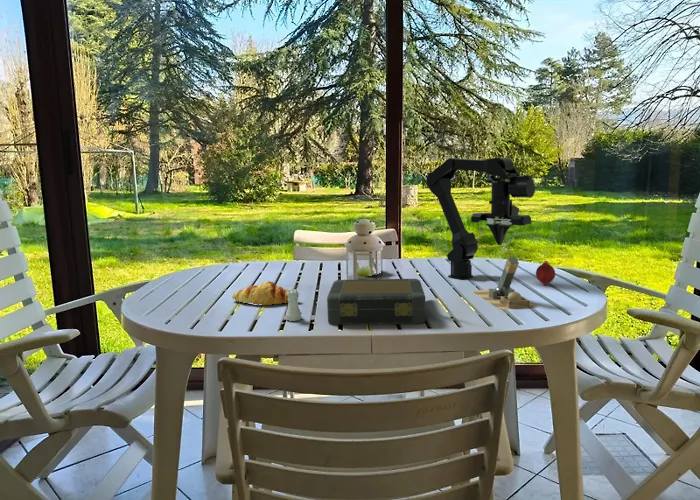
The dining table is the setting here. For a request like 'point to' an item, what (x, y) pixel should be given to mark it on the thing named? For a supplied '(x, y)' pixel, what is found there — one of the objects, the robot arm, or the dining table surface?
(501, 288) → the lever
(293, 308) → the rook chess piece
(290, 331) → the dining table surface
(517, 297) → the beige ball
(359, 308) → the cash box
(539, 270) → the onion
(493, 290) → the base
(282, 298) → the croissant
